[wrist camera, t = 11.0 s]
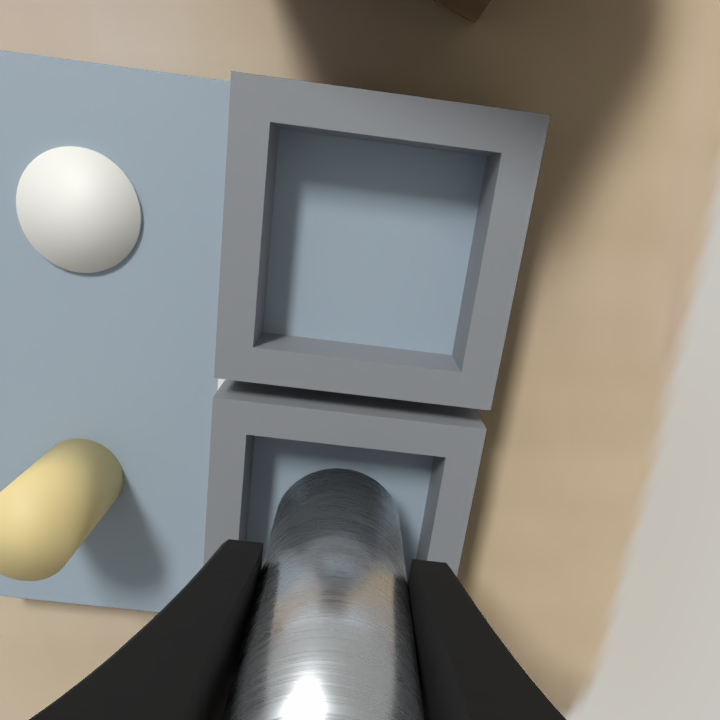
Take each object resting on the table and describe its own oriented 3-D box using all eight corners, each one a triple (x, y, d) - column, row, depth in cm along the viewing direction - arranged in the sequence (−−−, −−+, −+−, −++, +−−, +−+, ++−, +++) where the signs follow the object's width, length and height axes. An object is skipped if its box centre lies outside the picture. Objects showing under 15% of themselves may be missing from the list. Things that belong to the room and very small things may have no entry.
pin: (278, 462, 12) (200, 719, 6) (406, 474, 12) (451, 739, 6) (271, 573, 12) (195, 899, 7) (392, 583, 13) (420, 914, 7)
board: (4, 567, 15) (-99, 677, 12) (-26, 54, 12) (-182, -1, 8) (427, 611, 15) (446, 730, 12) (519, 127, 12) (581, 104, 9)
